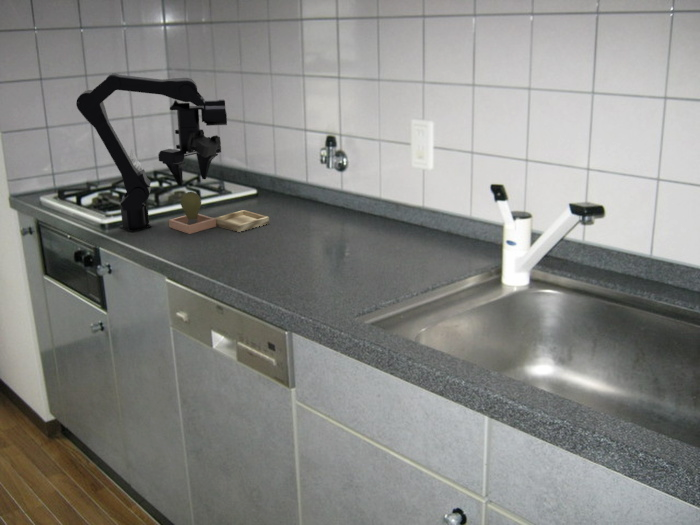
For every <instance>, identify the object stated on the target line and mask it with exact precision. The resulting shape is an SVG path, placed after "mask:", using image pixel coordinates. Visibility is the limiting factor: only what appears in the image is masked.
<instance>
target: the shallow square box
mask: <svg viewBox="0 0 700 525" xmlns="http://www.w3.org/2000/svg"><path fill="white" fill-rule="evenodd" d="M215 218H216V217H212V216H211V217H210V216H209V215H208V216H207V215H204V214H201V213H198V217H197V223H195V224H191V225H189V223H188V218H187V217H186V214H185V215H182V216H179V217H175V218H171V219H168V225H169V228H170V229H173V230H176V231H180V232H183V233H185V234H188V235H191V234H194V233H197V232H202V231H205V230H208V229H211V228H215V227H217V226H216V219H215Z"/></svg>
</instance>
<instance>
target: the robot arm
mask: <svg viewBox="0 0 700 525" xmlns="http://www.w3.org/2000/svg"><path fill="white" fill-rule="evenodd" d="M115 91H126V92H133V93H135V92H136V93H143V94H153V95H160V96H164V97H168V98H170V99H173V100H174V102H173V103H172V104H171V105H170V106H169V111H176V117H177V118H176V119H177V129H175V130H174V133H175V134H176V135H178V142H179V144H176V146H175V148H176V149H175V148H174V149H173V148H168V149H163V150H160V151H159V152H158V162H161V163H162V164H164V165H166V167H167V168H168V170H169V171H170V173H171V174H172V177H173V178H174V180H175V181H176V183H177V185H178V186H179V187H182V186H183V182H184V181H183V179H184V178H183V167H184V165H185V164H186V162H184V160H185V157H189V156H192V155H196V158H197V164H198V168H199V172H200V173H199V174H200V175H201V179H202V180H206V179H207V177H208V172H209V169H210V166H211V163H212V161H213V160H214V159H215V158H216V157H218V155H219V153H222V146H221V144H222V143H221V138H220V136H218V135H217V134H216V135H212V136H211V137H210V136H208V137H206V136H205V131H204V129H201V128H200V127H201V126H200V125H201V124H200V113H201V122H202V123H204V124H205V125H206V126H209V127H211V126H227V125H228V122H227V121H228V120H227V119H228V117H227V116H228V115H227V109H226V100H225V99H217V100H205V98H204V96H202V94H201V93H199V91H198V86H197V83H196V81H195V80H193V78H190V77H177V78H174V77H173V78H168V79H167V78H166V79H165V78H164V79H163V78H162V79H160V78H153V77H152V78H151V77H143V76H134V75H133V76H132V75H125V74H123V75H122V74H119V73H114V72H113V73H111V74H108V76H107V77H106V79H104V80H103V81H102V82H101V83H99V84H98V85H97V86H96V87H95V88H93V89H88V90H84V91H83V92H82V93H81V94H80V95H79V96H78V97H77V99H76V104H75V105H76V109H77V110H78V111H79V112H80V113H81V115H82V116H83V117H84V119H85V120H86V121H87V122H88V123H89V124H90V125H91V126H92V127H93V128H94V129H95V131H96V132H97V134H98V137H99V138H100V139H101V141H102V143H103V145H104V146H105V149H106V150H107V152H108V153H109V155H110V157H111V159H112V160H113V163H114V164H115V166H116V168H117V170H118V171H119V174H120V175H121V179H122V181H123V185H124V189H125V193H124V194H123V196H122V199H121V202H120V213H121V214H120V215H121V222H122V223H121V224H120V225H119V229H122V230H126V231H128V232H131V233H133V232H137V231H140V230H145V229H149V228H152V224H150V217H149V216H150V215H149V209H148V208H147V204H144V203H145V202H146V201H147V200H149V197H150V194H151V189H152V188H151V182H152V181H151V180H150V179H149V178H148V177H147V174H146V170H145V169H144V168H142V170H141V171H139V170H137V169H136V168H135V166H134V165H133V163H132V161H131V160H130V158H129V156H130V155H129V154H128V152H127V151H126V149H125V147H124V146H123V143H122V142H121V140H120V138H119V137H118V135H117V133H116V132H115V130H114V127H113V126H112V123H111V122H110V121H109V117H108V114H107V110H106V106H105V104H104V101H105V100H106V99H108V97H110V96H111V95H112V94H113V93H115ZM179 101H180V102H179ZM191 103H192V104H193V105H190V104H191ZM199 110H201V112H200V111H199Z"/></svg>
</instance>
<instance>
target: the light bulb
mask: <svg viewBox="0 0 700 525" xmlns="http://www.w3.org/2000/svg"><path fill="white" fill-rule="evenodd" d="M180 198H181V199H180V206H181V208H182V210H183V211H184V213H185V215H186V217H187V218H188V223H187V224H188V225H191V224H195V223H198V222H197V217H198V214H199V211H200V208H201V206H202V199H201V197H200V195H199V194H197V193H195V192H194V191H188V192H186V193H184V194H183V195H182V196H181V197H180Z"/></svg>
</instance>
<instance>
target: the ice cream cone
mask: <svg viewBox="0 0 700 525" xmlns="http://www.w3.org/2000/svg"><path fill="white" fill-rule="evenodd" d="M130 150H131V151H130V155H128V156H129V158H130V160H131V161H132V163H133V165H134V166H135V168H136V169H137V170H139V171H141V170H143V168H142V163H140V161H139V160H138V157H137V155H135V153H134V151H133V149H130Z"/></svg>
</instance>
